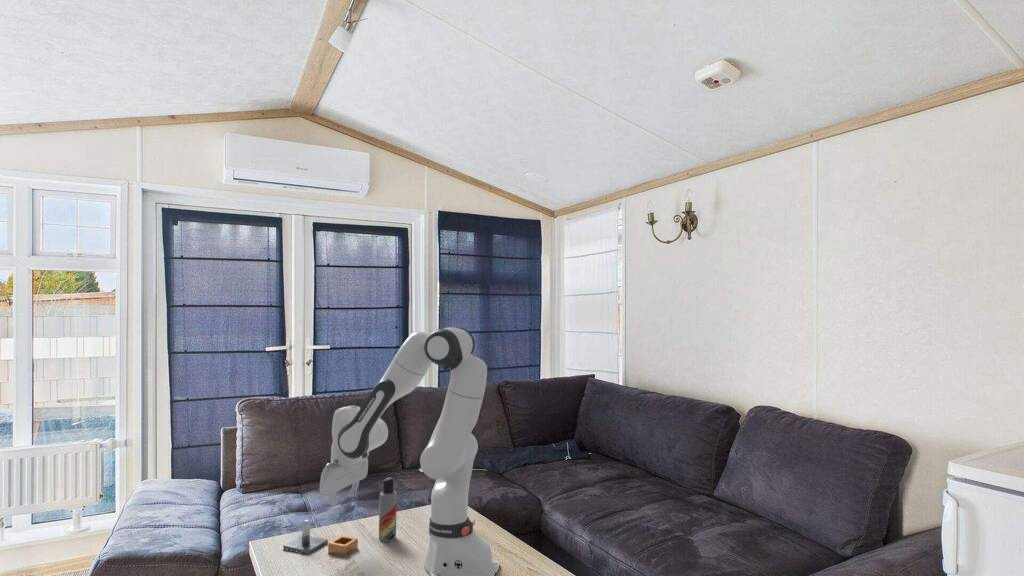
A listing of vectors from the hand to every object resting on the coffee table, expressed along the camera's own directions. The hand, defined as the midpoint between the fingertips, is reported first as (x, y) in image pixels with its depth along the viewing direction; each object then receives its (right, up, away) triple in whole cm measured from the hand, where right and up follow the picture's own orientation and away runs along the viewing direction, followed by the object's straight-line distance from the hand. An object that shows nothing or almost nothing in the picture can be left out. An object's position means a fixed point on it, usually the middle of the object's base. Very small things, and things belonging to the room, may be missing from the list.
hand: (343, 500), depth 174 cm
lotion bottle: (+12, -17, +9) cm, 22 cm away
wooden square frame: (0, -16, -1) cm, 16 cm away
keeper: (-13, -16, +2) cm, 20 cm away
